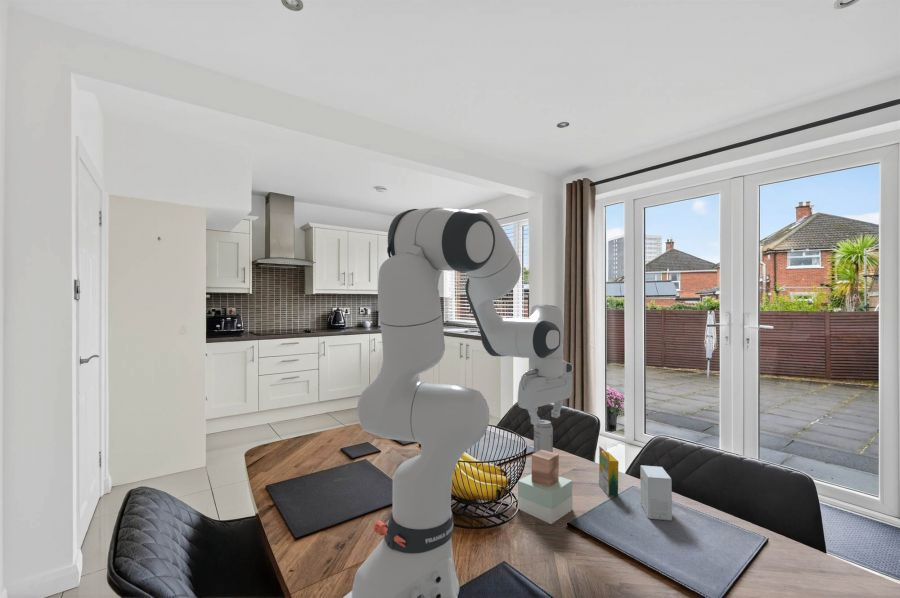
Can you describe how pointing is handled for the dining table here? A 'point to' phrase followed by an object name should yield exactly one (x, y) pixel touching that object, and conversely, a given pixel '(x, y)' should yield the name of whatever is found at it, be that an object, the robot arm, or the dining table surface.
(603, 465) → the crayon box
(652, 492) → the small box
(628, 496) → the dining table surface
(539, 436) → the energy drink can
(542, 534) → the dining table surface
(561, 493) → the tower top block
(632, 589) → the dining table surface
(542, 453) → the terracotta block
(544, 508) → the tower base block
